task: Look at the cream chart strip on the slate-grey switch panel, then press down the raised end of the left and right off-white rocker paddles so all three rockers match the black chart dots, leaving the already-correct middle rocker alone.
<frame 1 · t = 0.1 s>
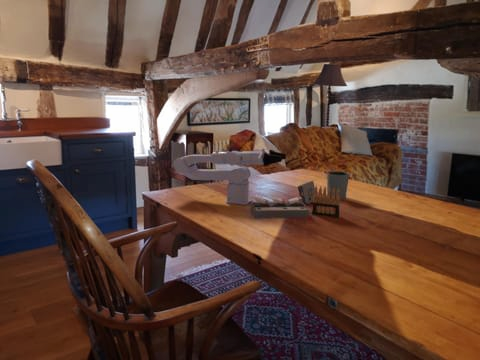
hand: (283, 157, 153), 22 cm above the table, tool horizontal, fingers open, 7 cm apart
rocker right: (295, 200, 151), point 5 cm above the table, hinge at -15.0°
ammunition clip: (325, 215, 148), on the table
switch panel: (278, 213, 150), on the table
rocker middle: (278, 200, 150), point 5 cm above the table, hinge at 15.0°
electrical switch: (306, 202, 166), on the table
rocker left: (261, 201, 150), point 5 cm above the table, hinge at 15.0°
grey cup: (336, 197, 173), on the table
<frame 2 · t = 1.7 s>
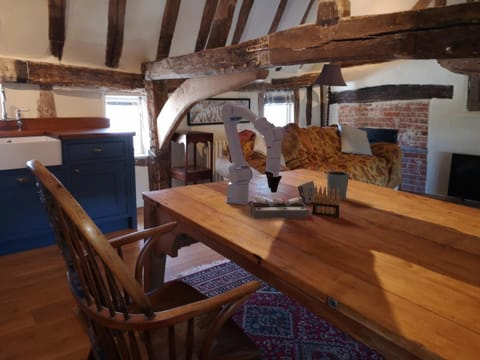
hand: (272, 190, 149), 9 cm above the table, tool pointing down, fingers open, 6 cm apart
nothing on the table moved.
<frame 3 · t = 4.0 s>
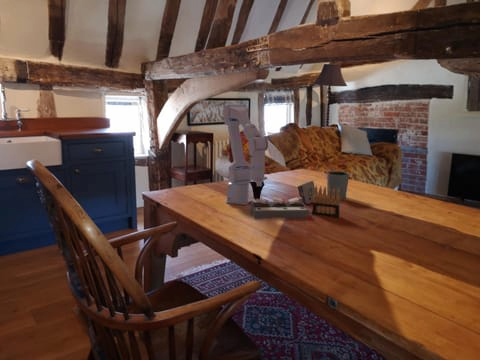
hand: (256, 199, 149), 6 cm above the table, tool pointing down, fingers closed, pressing on rocker left
rocker left: (261, 201, 150), point 5 cm above the table, hinge at 14.7°, touching gripper
everything else where it was.
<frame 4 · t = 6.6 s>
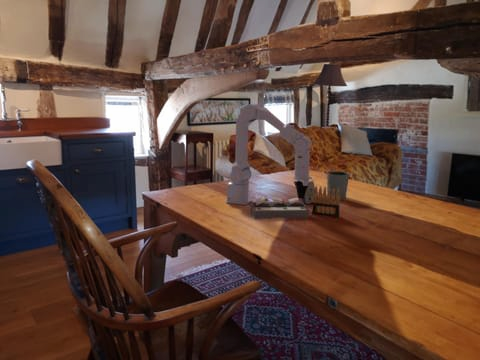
hand: (300, 198, 151), 6 cm above the table, tool pointing down, fingers closed, pressing on rocker right
rocker right: (295, 200, 151), point 5 cm above the table, hinge at -14.2°, touching gripper
rocker left: (261, 201, 150), point 5 cm above the table, hinge at -20.5°
everything else where it was.
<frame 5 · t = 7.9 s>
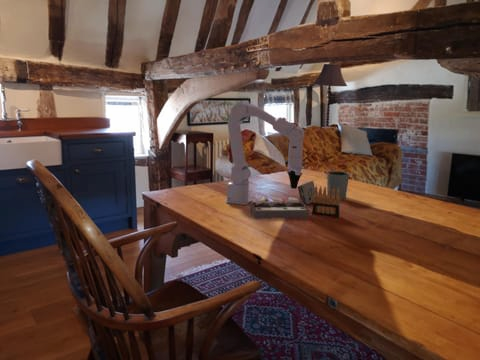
hand: (293, 188, 154), 9 cm above the table, tool pointing down, fingers closed
rocker right: (295, 200, 151), point 5 cm above the table, hinge at 9.5°
rocker left: (261, 201, 150), point 5 cm above the table, hinge at -17.4°
everything else where it was.
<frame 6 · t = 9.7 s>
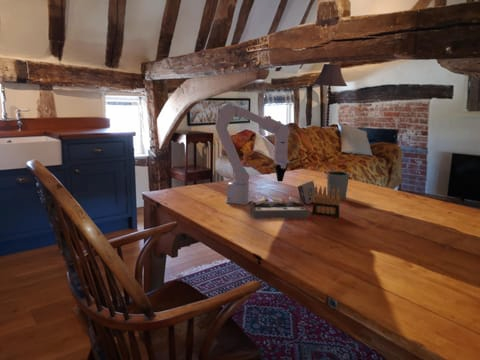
hand: (279, 181, 164), 9 cm above the table, tool pointing down, fingers closed
rocker right: (295, 200, 151), point 5 cm above the table, hinge at 21.4°
rocker left: (261, 201, 150), point 5 cm above the table, hinge at -15.4°
everything else where it was.
at the end: rocker left at -15° (first picture: +15°); rocker right at +22° (first picture: -15°); rocker middle at +15° (first picture: +15°) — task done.
